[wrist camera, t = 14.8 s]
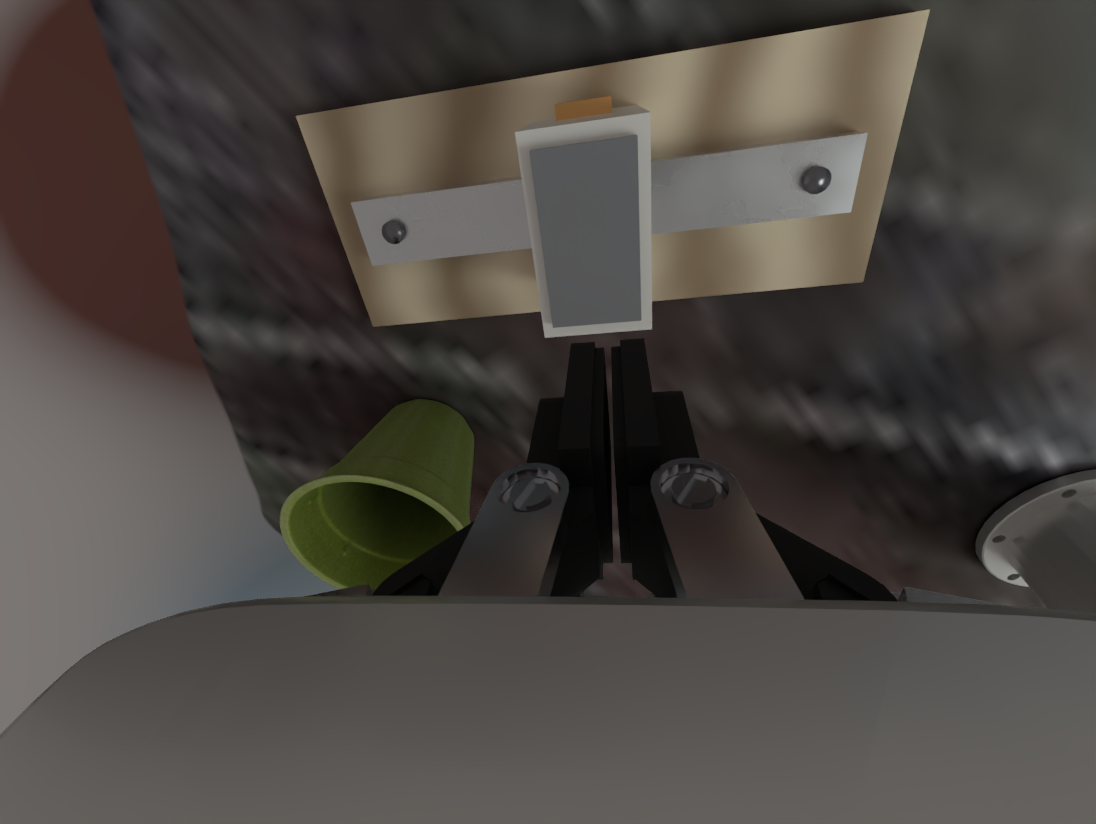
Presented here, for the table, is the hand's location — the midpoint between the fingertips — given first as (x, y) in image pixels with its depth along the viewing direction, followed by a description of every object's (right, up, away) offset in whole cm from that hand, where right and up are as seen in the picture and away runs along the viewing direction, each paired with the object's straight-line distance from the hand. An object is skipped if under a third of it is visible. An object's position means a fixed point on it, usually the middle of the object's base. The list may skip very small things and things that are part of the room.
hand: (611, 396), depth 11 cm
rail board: (+1, +12, +15) cm, 19 cm away
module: (+1, +11, +15) cm, 18 cm away
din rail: (+1, +12, +15) cm, 19 cm away
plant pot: (-11, -2, +27) cm, 29 cm away
